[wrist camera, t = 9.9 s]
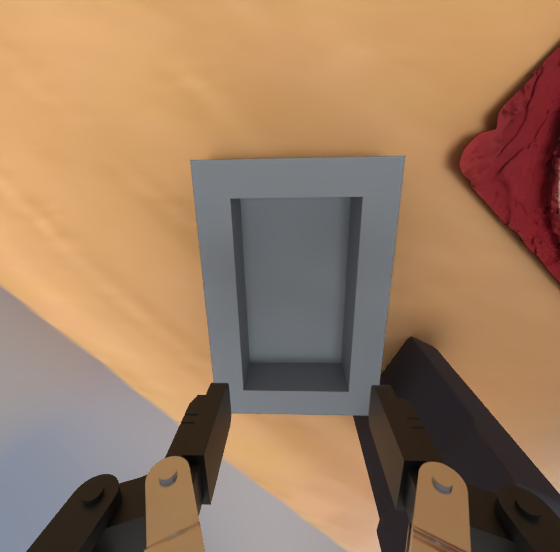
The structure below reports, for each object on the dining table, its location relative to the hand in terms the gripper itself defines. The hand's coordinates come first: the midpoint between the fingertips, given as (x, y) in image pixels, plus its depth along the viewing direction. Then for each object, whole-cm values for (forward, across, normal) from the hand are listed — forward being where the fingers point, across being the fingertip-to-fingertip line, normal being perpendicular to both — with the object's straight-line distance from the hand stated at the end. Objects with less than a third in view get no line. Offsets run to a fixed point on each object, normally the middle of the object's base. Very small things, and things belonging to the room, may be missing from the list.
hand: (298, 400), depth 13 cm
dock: (+15, 0, 0) cm, 15 cm away
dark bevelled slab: (+15, -10, +11) cm, 21 cm away
